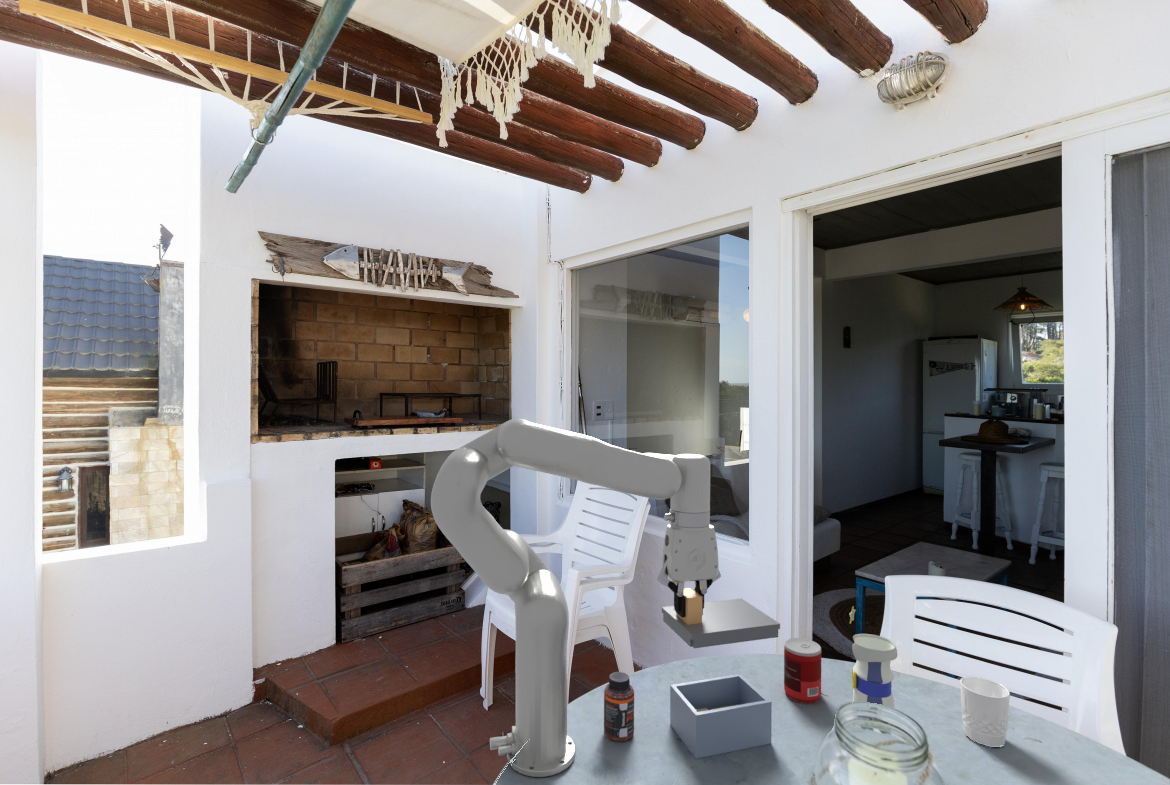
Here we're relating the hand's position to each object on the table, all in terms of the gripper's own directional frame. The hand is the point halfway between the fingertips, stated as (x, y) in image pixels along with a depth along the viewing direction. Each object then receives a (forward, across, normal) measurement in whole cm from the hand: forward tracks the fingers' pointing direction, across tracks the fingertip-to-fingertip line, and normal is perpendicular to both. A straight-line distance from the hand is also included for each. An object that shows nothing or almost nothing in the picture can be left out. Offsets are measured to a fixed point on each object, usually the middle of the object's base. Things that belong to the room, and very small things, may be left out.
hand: (688, 612), depth 109 cm
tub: (+25, +7, 0) cm, 26 cm away
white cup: (+24, +56, -16) cm, 63 cm away
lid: (+4, +7, 0) cm, 7 cm away
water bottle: (+25, +34, -10) cm, 43 cm away
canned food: (+25, +32, +8) cm, 41 cm away
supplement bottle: (+25, -12, +6) cm, 28 cm away
